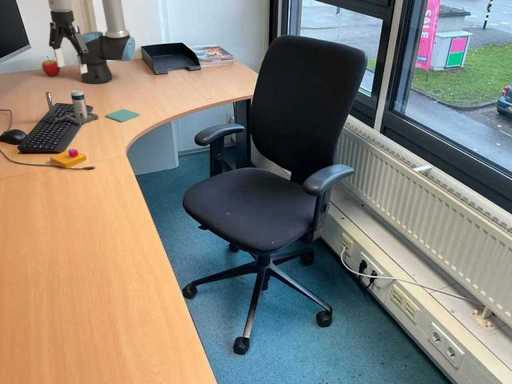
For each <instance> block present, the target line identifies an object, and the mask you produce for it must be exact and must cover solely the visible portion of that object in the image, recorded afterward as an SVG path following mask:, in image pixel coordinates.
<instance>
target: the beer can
mask: <svg viewBox="0 0 512 384" xmlns="http://www.w3.org/2000/svg"><path fill="white" fill-rule="evenodd" d="M70 95H71V96H70V97H71V102H72V107H73V113H75V117H74V118H75V119H78V120H82V119H85V118H87V117H89V115H88V114H87V111H88V110H87V105H86V98H85V93H84V91H83V90H82V89H73V90H71V92H70Z"/></svg>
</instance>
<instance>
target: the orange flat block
mask: <svg viewBox="0 0 512 384" xmlns="http://www.w3.org/2000/svg"><path fill="white" fill-rule="evenodd" d="M49 158H50V162H51V163H53V164H55V165H57V166H58V167H59V166H60V167H61V168H63V169H66V170H68V169H70V168H72V167H74V166H76V165H79V164H81V163H82V162H85V161H88V160H87V155H86V154H84V153H81V152H79V151H78V150H77V149H74V148H72V149H71V148H70V149H67V150H65V151H63V152H60V153H58V154H56V155H53V156H51V157H49Z"/></svg>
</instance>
